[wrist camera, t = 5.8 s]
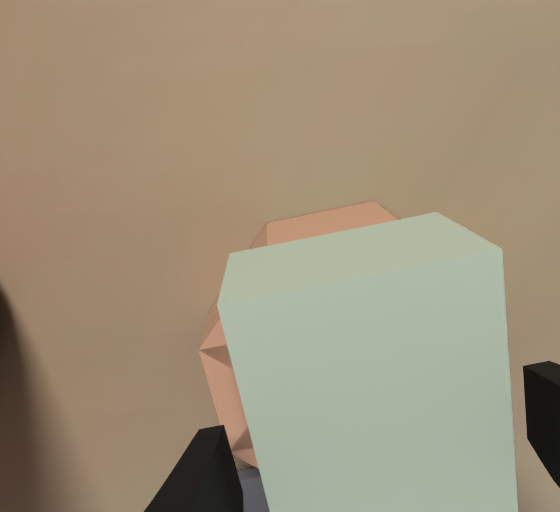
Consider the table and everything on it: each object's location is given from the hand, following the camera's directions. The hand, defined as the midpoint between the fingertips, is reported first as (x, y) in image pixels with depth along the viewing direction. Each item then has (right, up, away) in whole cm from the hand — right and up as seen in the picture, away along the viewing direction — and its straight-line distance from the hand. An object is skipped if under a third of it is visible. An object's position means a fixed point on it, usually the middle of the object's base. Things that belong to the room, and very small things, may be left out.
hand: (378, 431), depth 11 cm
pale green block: (0, +1, +2) cm, 3 cm away
